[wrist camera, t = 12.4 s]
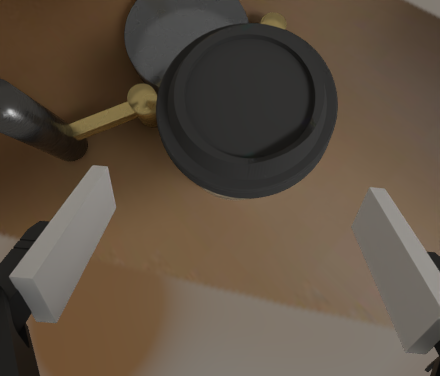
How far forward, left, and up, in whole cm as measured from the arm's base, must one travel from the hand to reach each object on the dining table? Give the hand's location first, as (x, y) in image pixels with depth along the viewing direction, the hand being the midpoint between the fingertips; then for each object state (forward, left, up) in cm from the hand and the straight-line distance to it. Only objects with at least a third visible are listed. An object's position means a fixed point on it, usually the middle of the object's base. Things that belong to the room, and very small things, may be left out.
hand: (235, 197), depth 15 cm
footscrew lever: (+13, -2, -11) cm, 18 cm away
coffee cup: (+1, -4, -12) cm, 13 cm away
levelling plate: (+10, -13, -12) cm, 20 cm away
